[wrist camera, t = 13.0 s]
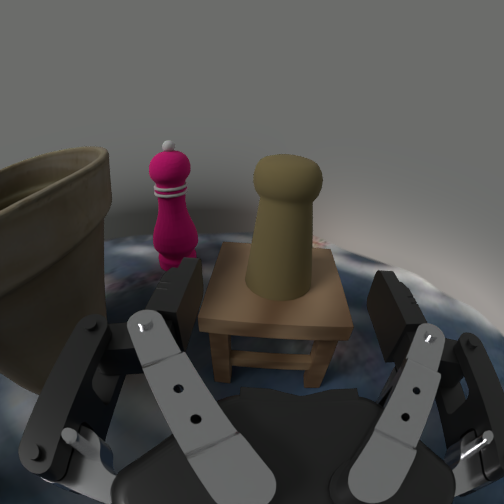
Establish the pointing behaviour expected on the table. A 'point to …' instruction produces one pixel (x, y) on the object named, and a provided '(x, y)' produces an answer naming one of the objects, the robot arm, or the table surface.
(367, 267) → the table surface
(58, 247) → the plant pot
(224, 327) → the footstool
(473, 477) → the robot arm
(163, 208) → the pepper mill
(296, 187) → the cork
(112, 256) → the table surface
